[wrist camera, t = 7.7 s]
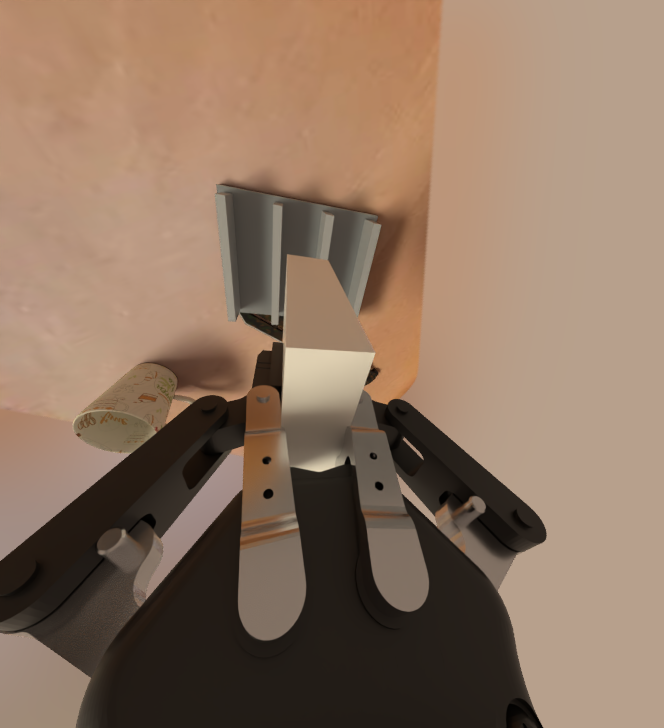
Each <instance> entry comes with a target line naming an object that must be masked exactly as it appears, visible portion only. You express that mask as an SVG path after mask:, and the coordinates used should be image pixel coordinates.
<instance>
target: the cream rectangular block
mask: <svg viewBox="0 0 664 728" xmlns="http://www.w3.org/2000/svg"><path fill="white" fill-rule="evenodd" d="M374 356H375V351H374V349H373V347H372V345H371V343H370V341H369V339H368V337H367V335H366V333H365V331H364V329H363V327H362V325H361V323H360V322H359V320H358V318H357V316H356V314H355V312H354V310H353V308H352V306H351V304H350V302H349V300H348V298H347V296H346V294H345V292H344V290H343V288H342V286H341V284H340V282H339V280H338V278H337V276H336V274H335V272H334V271H333V269H332V267H331V265H330V263H329V261H328V260H323V259H316V258H310V257H303V256H296V255H289V254H287V266H286V285H285V304H284V324H283V367H282V393H281V427H283V428H285V433H286V440H287V448H288V456H289V464H290V467H297V468H301V469H306V470H311V471H316V472H322V471H325V470H328V469H331V468H334V467H335V461H336V458H337V456H340V453H341V450H342V447H343V444H344V434H345V431H346V428H347V426H351V423H352V420H353V417H354V415H355V412H356V409H357V406H358V403H359V400H360V397H361V394H362V391H363V388H364V385H365V382H366V379H367V376H368V373H369V371H370V368H371V365H372V362H373V359H374Z"/></svg>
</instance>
